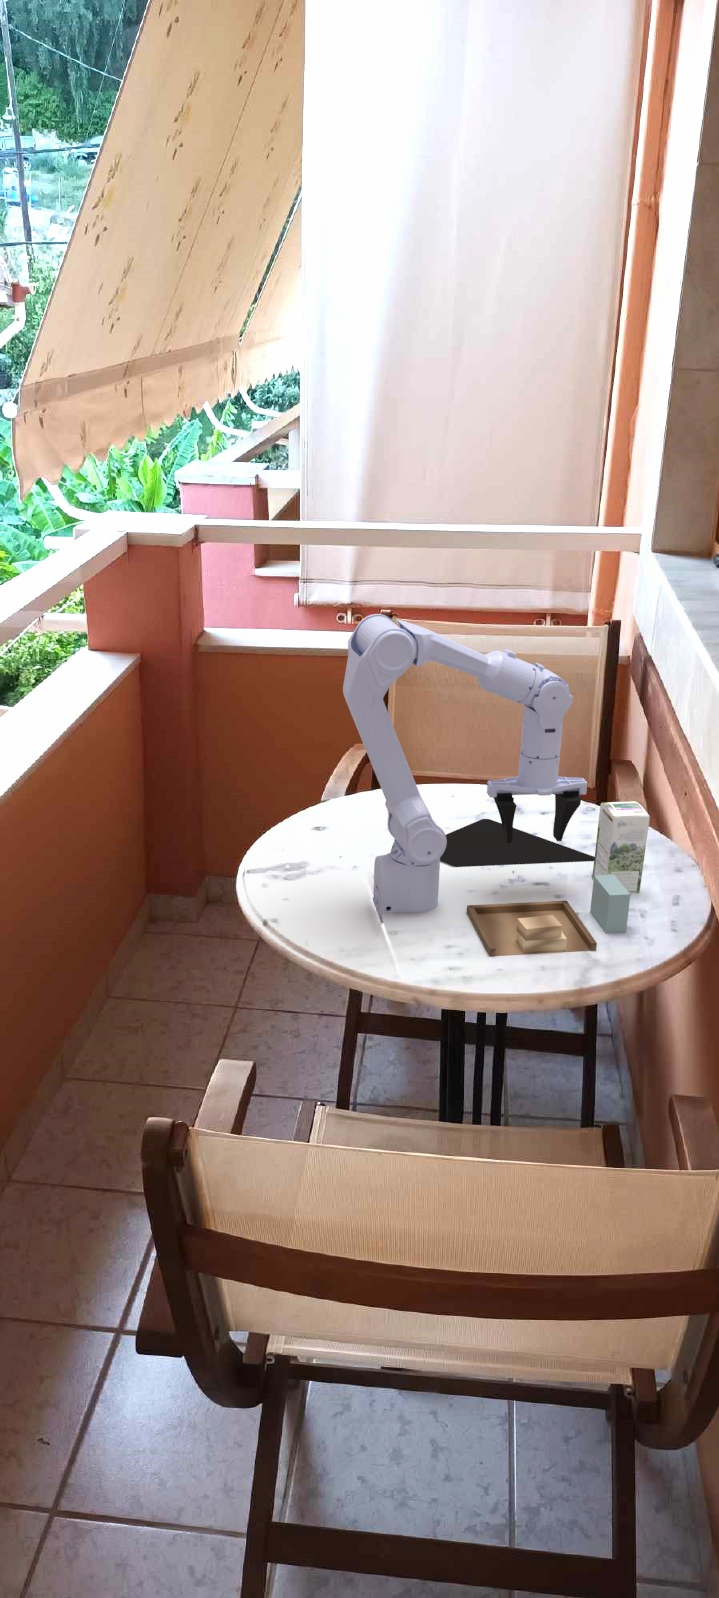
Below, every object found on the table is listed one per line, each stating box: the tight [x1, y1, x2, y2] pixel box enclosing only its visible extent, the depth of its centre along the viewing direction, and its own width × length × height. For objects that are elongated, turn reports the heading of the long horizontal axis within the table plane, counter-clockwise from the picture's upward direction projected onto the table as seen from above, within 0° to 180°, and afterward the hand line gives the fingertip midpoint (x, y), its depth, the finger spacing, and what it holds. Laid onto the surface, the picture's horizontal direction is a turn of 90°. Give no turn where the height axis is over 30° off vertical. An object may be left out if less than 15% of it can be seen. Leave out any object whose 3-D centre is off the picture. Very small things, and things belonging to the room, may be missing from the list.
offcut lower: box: [516, 931, 567, 953], centre depth 157 cm, size 6×3×2 cm, turn 99°
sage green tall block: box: [589, 875, 632, 934], centre depth 163 cm, size 3×6×7 cm, turn 9°
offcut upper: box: [517, 915, 562, 941], centre depth 156 cm, size 5×3×2 cm, turn 105°
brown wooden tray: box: [466, 900, 598, 957], centre depth 161 cm, size 15×13×3 cm
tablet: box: [440, 818, 595, 868], centre depth 188 cm, size 27×1×20 cm
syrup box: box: [591, 800, 651, 894], centre depth 173 cm, size 6×6×14 cm
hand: (532, 839), depth 170 cm, fingers open, 7 cm apart
